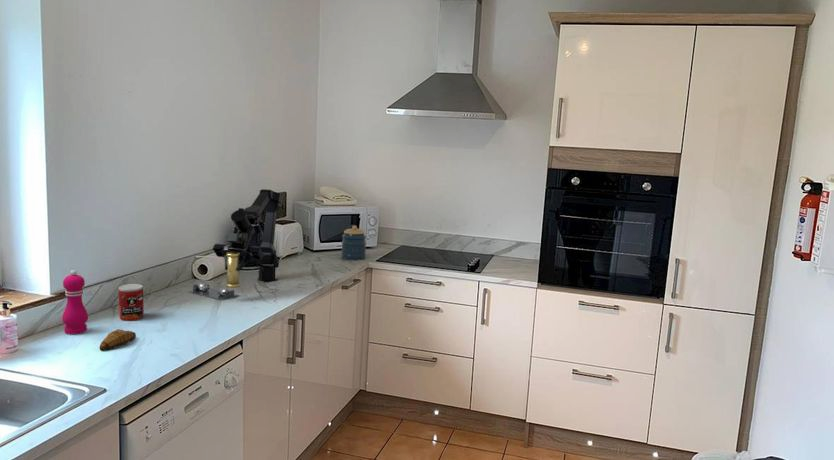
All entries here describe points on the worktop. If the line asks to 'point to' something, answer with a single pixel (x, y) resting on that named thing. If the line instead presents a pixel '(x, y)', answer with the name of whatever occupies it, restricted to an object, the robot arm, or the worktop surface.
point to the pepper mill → (74, 305)
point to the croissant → (117, 339)
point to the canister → (354, 243)
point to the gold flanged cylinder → (232, 269)
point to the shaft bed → (212, 291)
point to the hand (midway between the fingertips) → (231, 269)
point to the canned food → (131, 302)
